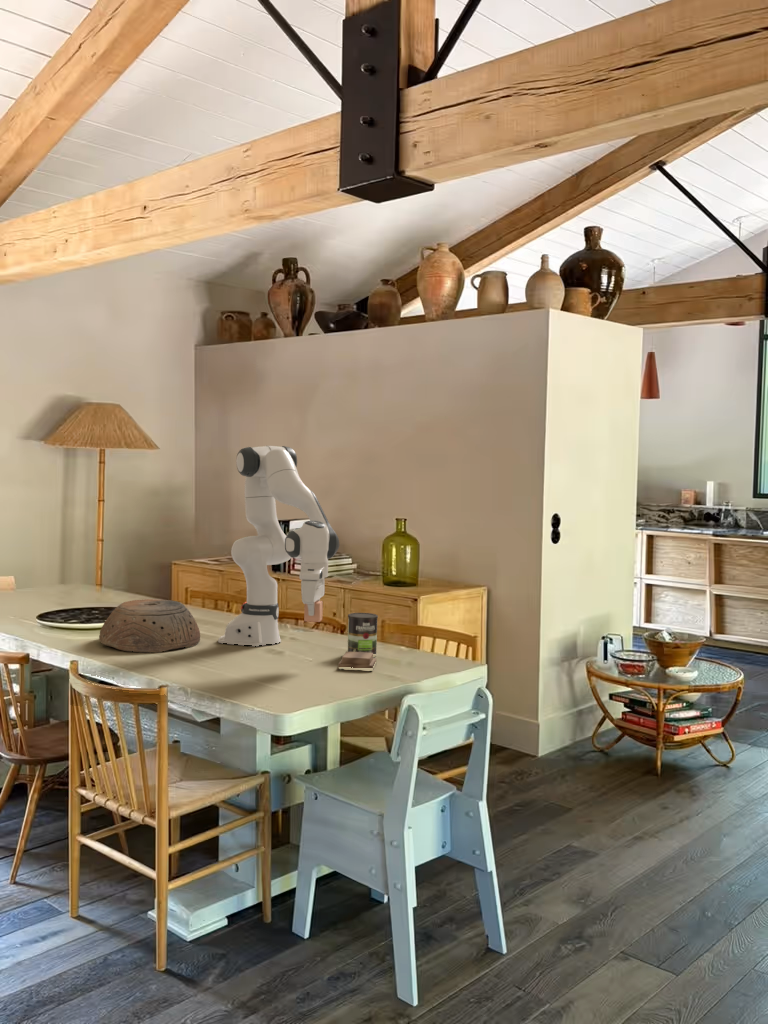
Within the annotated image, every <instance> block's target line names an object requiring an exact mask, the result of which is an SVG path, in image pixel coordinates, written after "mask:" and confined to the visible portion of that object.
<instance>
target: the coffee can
mask: <svg viewBox="0 0 768 1024" xmlns="http://www.w3.org/2000/svg"><path fill="white" fill-rule="evenodd" d="M378 618H379V616H378V614H375V613H370V612H351V613H349V614H348V615H347V619H348V623H347V624H348V625H347V647H346V648H347V651H348V652H367V653H373V654H376V655H377V642H378V641H377V640H378V637H377V636H378Z"/></svg>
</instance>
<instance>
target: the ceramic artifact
mask: <svg viewBox="0 0 768 1024" xmlns="http://www.w3.org/2000/svg"><path fill="white" fill-rule="evenodd" d="M197 623H198V622H197V621H196V620H195V617H194V616H193V614H192V613H191V611H190V610H189V609H188V608H187V607H186V605H185V604H183V603H182V602H180V601H176V600H169V599H168V600H167V599H158V598H157V599H156V598H155V599H154V598H152V599H151V598H150V599H149V598H148V599H147V598H145V599H134V600H128V601H123V602H122V603H120V604H119V605H117V606H116V607H115V609H113V610H112V611H111V613H109V616H108V617H107V618H106V620H105V621H104V622H103V624H102V626H101V629H100V630H99V636H98V639H99V642H100V643H101V644H102V645H105V646H107V647H110V648H114V649H117V650H119V651H123V652H131V653H133V652H134V653H151V652H157V653H163V652H162V651H164V652H166V651H171V650H177V649H185V648H184V647H189V648H191V647H190V646H192V647H195V646H196V645H197V644H199V642H200V641H201V631H200V628H199V625H198V624H197ZM194 645H195V646H194ZM132 651H133V652H132Z"/></svg>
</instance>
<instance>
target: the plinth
mask: <svg viewBox="0 0 768 1024" xmlns="http://www.w3.org/2000/svg"><path fill="white" fill-rule="evenodd" d="M375 662H376V663H377V658H376V657H373V653H367V652H348V651H345V653H343V655H342V657H341V660H340V661H338V664H337V665H338V667H351V668H352V667H353V668H373V666H374V664H375ZM338 667H337V668H338Z"/></svg>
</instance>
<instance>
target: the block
mask: <svg viewBox="0 0 768 1024" xmlns="http://www.w3.org/2000/svg"><path fill="white" fill-rule="evenodd" d="M323 606H324V603H323V600H320V601H316V602H315V605H314V610H315V614H314V615H313V616H309V615H308V606H307V604H304V613H303V614H304V615H303V617H304V620H303V621H304V622H313V623H314V622H315V623H316V622H318V623H320V622H321V621H322V620H323V613H324V612H323V611H324V610H323V608H324V607H323Z"/></svg>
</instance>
